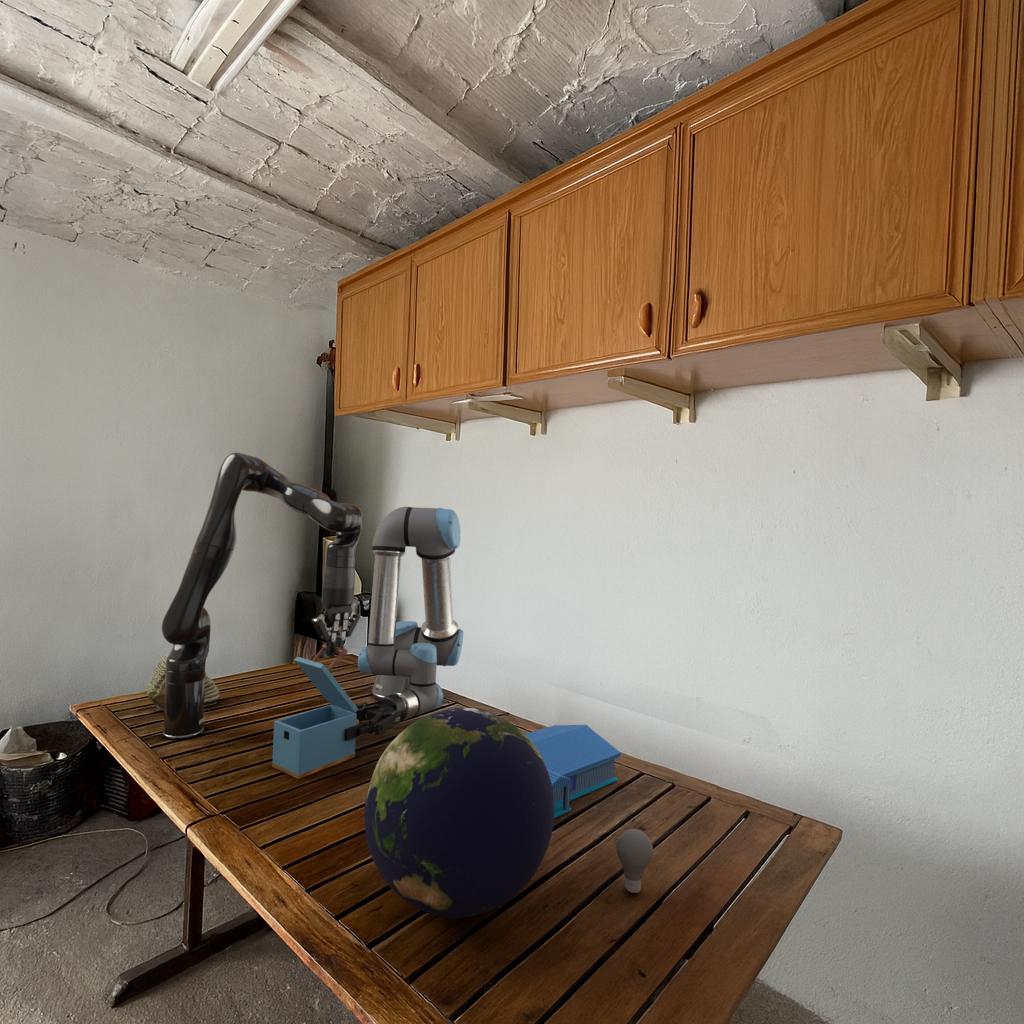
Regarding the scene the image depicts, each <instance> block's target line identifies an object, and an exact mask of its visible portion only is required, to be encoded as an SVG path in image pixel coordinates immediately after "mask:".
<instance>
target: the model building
mask: <svg viewBox="0 0 1024 1024" xmlns="http://www.w3.org/2000/svg"><path fill="white" fill-rule="evenodd" d="M524 734H525V735H526V736H527V737H528V738H529V739H530V741H531V742H532V743H533V744H534V745H535V747H536V748H537V750H538V752H539V753H540V755H541V757H542V758H543V760H544V763H545V766H546V768H547V770H548V773H549V777H550V780H551V784H552V789H553V795H554V819H556V818H558V817H560V816H563V815H565V814H567V813H570V812H572V808H571V807H570V803H571V801H573V800H575V799H577V798H580V797H582V796H585V795H587V794H589V793H592V792H594V791H596V790H599V789H601V788H604V787H606V786H608V785H610V784H614V783H615V782H618V779H619V778H618V777H615V770H616V769H615V768H616V767H615V766H616V759H619V758H621V757H622V756H621V755H622V754H621V751H620V750H618V749H617V748H616V747H615V746H613V745H612V744H611V743H610V742H608V741H607V740H605V739H604V737H602V736H601V735H600V734H598V733H597V732H596V731H595V730H593V728H591V727H590V726H588V725H587V724H560V725H559V724H558V725H556V724H555V725H550V726H546V727H544V728H540V729H537V730H534V731H531V732H530V731H529V732H527V733H524Z"/></svg>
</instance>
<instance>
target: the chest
mask: <svg viewBox="0 0 1024 1024" xmlns="http://www.w3.org/2000/svg"><path fill="white" fill-rule="evenodd" d="M356 717H357V714H356V713H353V712H351V711H348V710H345V709H342V708H340V707H337V706H334V705H331V704H328V705H325V706H321V707H317V708H315V709H310V710H307V711H304V712H301V713H296V714H295V715H294V714H293V715H289V716H286V717H284V718H280V719H277V720H274V721H273V740H272V741H273V742H272V763H271V767H272V768H274V769H276V770H278V771H280V772H282V773H284V774H287V775H289V776H290V777H293V778H295V779H297V780H300V779H303V778H304V777H305V778H306V777H307V776H310V775H312V774H315V773H318V772H320V771H322V770H325V769H328V768H330V767H333V766H335V765H338V764H340V763H343V762H346V761H349V760H351V759H353V758H355V757H356V740H357V739H356V738H357V737H356V738H353V739H350V740H348V741H345V740H344V737H345V729H346V728H349V727H352V726H355V725H356Z"/></svg>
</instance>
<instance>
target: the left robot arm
mask: <svg viewBox="0 0 1024 1024" xmlns="http://www.w3.org/2000/svg"><path fill="white" fill-rule="evenodd" d="M243 491H245V492H255V493H259V494H263V495H268V496H270V497H273V498H275V499H277V500H279V501H280V502H281V503H282V504H284V505H285V506H286V507H288V508H289V509H290V510H292V511H294V512H296V513H298V514H300V515H303V516H305V517H307V518H309V519H311V520H312V521H314V522H315V523H316V524H318V525H319V526H320V527H322V528H323V529H325V530H327V531H330V532H333V533H335V537H334V540H333V541H331V542H329V543H327V545H326V549H325V558H324V559H325V561H324V571H323V575H322V589H321V590H322V592H321V604H322V609H321V611H320V614H319V615H318V616H317V617H313V618H312V619H311V623H312V625H313V627H314V629H315V631H316V633H317V635H318V637H319V639H321V640H324V641H325V644H326V650H325V655H326V656H327V657H328V658H334V657H335V656H336V657H337V656H338V655H339V654H337V653H335V646H336V647H340V648H344V642H345V640H346V639H347V638H350V637H351V636H352V634H353V633H354V631H355V628H356V626H357V624H358V623H359V620H360V619H361V614H357V613H355V612H354V611H353V610H354V609H353V607H352V605H353V604H354V600H355V584H356V567H355V566H356V550H357V547H358V544H359V541H360V538H361V534H362V530H363V528H364V527H363V526H364V515H363V511H362V509H361V508H360V507H359V506H358V505H356V504H354V503H345V502H337V501H335V500H332V499H330V497H329V496H328V495H327V494H326V493H324V492H322V491H320V490H317V489H316V488H313V487H311V486H309V485H306V484H304V483H302V482H300V481H297V480H295V479H292V478H290V477H288V476H286V475H284V474H283V473H281V472H279V471H278V470H276V469H275V468H274V467H272V466H271V465H269V463H267V462H265V461H264V460H262V459H260V458H259V457H257V456H253V455H249V454H247V453H241V452H232V453H230V454H228V455H227V456H226V457H225V458H224V459H223V461H222V463H221V464H220V467H219V470H218V474H217V478H216V481H215V483H214V488H213V492H212V496H211V499H210V502H209V505H208V509H207V512H206V515H205V518H204V520H203V523H202V526H201V527H200V530H199V533H198V535H197V537H196V539H195V542H194V545H193V547H192V548H193V549H192V550H191V554H190V557H189V559H188V562H187V565H186V566H185V567H186V568H185V569H184V573H183V576H182V579H181V582H180V584H179V587H178V589H177V592H176V593H175V595H174V597H173V599H172V601H171V603H170V605H169V607H168V609H167V611H166V613H165V615H164V617H163V618H162V623H161V631H162V632H161V633H162V636H163V638H164V639H165V640H166V642H167V643H169V644H171V645H172V649H171V651H170V653H169V654H168V655H169V656H168V657H167V659H166V674H165V705H164V710H163V731H162V737H164V738H166V739H169V740H185V739H190V738H191V739H192V738H194V737H197V736H199V735H202V734H203V732H204V730H205V729H204V722H205V721H206V716H205V706H204V693H205V672H206V664H207V663H206V662H207V658H208V655H209V653H210V643H211V628H212V627H211V626H212V621H211V617H210V613H209V611H208V610H207V608H205V607H204V606H205V603H206V601H207V599H208V597H209V595H210V593H211V592H212V590H213V589H214V587H215V586H216V584H217V583H218V582H219V580H220V579H221V578H222V576H223V575H224V573H225V571H226V570H227V568H228V566H229V564H230V561H231V559H232V556H233V554H234V552H235V549H236V545H237V542H238V531H237V523H236V509H237V504H238V501H239V499H240V496H241V494H242V492H243Z"/></svg>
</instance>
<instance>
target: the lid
mask: <svg viewBox="0 0 1024 1024" xmlns="http://www.w3.org/2000/svg"><path fill="white" fill-rule="evenodd" d="M325 652H326V643H323V644H322V646H321V649H320V650H319V651H318V652H317V654H315V655H314V657H313V658H312V659H311V660H310V659H306V658H303V657H300V656H296V658H295V659H294V660H293V661H294V662H295V663H296V664H297V665H298V667H299V668H300V670H301V671H302V672H303V673H304V674H305V676H306V677H307V678H308V680H309V681H310V682H311V683H312V684H313V685H314V687H315V688H316V689H317V691H318V692H319V693H320V694H321V696H322V697H323V698H324V699H325V700H326V702H327V703H328V705H333V706H336V707H339V708H343V709H346V710H349V711H352V712H355V713H356V711H357V710H358V708H357V707H356V706H355V705H356V704H355V703H354V702H353V701H352V699H351V698H350V697H349V695H348V694H347V692H346V691H345V689H344V688H342V686H341V685H340V683H339V682H338V681H337V679H336V678H335V677H334V676H333V674H332V673H331V671H332V670H333V669H334V667H335V666H336V665H337V664H338V662H340V660H341V659H342V657H343V656H346V655H347V654H348V650H347V648H344V647H343V648H340V647H336V646H335V653H337V654H339V655H338V656H336V657H335V658H334V659H333V661H332V662H331V663H330V665H329V666H328V667H326V665H325V664H324V663H320V662H317V661H318V659H319V658H320V657H321V656H323V654H324V653H325Z"/></svg>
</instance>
